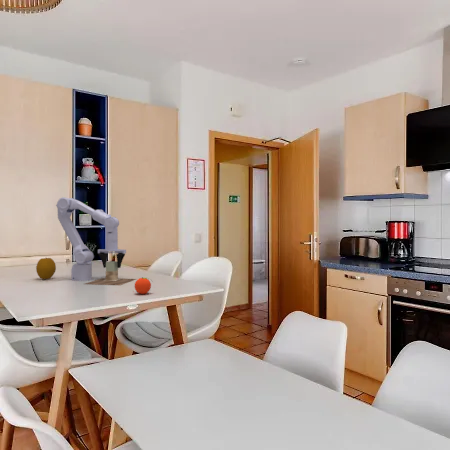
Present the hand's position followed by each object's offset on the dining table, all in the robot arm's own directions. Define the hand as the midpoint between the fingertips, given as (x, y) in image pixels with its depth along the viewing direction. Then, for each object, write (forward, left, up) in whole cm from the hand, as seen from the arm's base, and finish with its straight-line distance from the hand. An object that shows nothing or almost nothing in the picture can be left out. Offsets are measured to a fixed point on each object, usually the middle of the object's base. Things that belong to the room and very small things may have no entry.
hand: (112, 267), depth 208 cm
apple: (-38, +2, -7) cm, 39 cm away
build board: (+2, -5, -7) cm, 9 cm away
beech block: (0, 0, -6) cm, 6 cm away
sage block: (0, 0, -2) cm, 2 cm away
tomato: (+28, -28, -8) cm, 40 cm away
